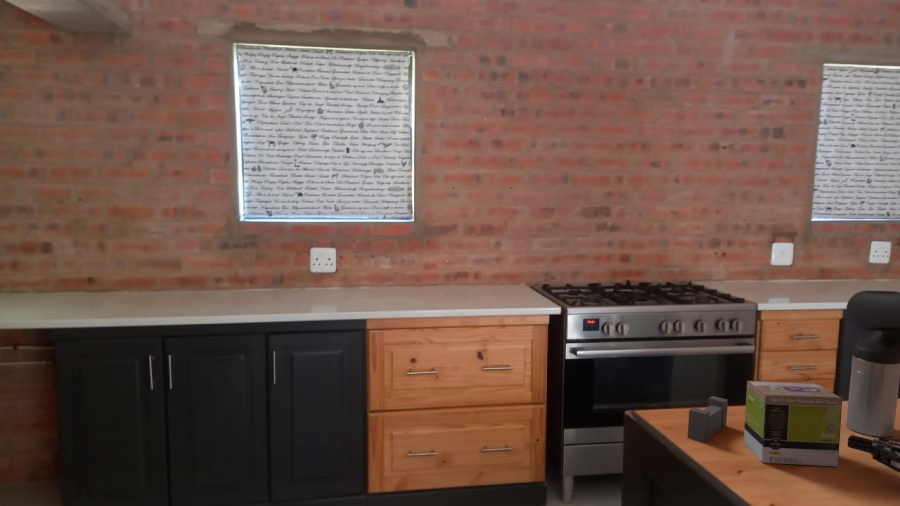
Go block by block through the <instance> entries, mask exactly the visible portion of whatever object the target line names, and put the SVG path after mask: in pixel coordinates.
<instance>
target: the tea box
mask: <svg viewBox="0 0 900 506" xmlns="http://www.w3.org/2000/svg"><path fill="white" fill-rule="evenodd" d="M745 395H746V396H745V410H744V411H745V414H744V425H743V427H744V431H743V443H744V445H745V446H746V447H747V448H748V449H749V450H750V451H751V453H752V454H753V455H754V456H755V457H756V458H757V459H758V460H759V461H760V462H761V463H765V464H783V465H785V464H786V465H802V466H804V465H805V466H819V467H820V466H822V467H837V468H838V467H839V457H840V443H841V442H840V440H841V426H842V409H843V408H842V407H843V397H841V396H839V395H837V394H835V393H834V392H832V391H830V390H829V389H827V388H825V387H823V386H821V385H820V384H819V383H816V382H794V381H793V382H792V381H791V382H789V381H787V382H786V381H763V380H762V381H761V380H747V381H746V394H745Z"/></svg>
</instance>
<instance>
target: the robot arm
mask: <svg viewBox="0 0 900 506" xmlns="http://www.w3.org/2000/svg"><path fill="white" fill-rule="evenodd" d="M845 307H846V308H845V309H846V310H845V311H846V315H847V318H848V320H849V321H850V322H851V323H852V324H853V325H854V326H855V327H857V328H859V329H861V330H865V331H875V332H874V333H873V334H872V335H871V336H870V337H868V338H866V339H864V340H861V341H858V342H856V343H855V344H854V345H853V348H852V349H853V350H852V357H851V358H852V359H851V368H850V370H851V371H850V379H849V392H848V401H847V411H846V422H845V423H846V427H847V428H848V429H851V430H852V431H854V432H857V433H860V434H863V435H867V436H871V437H872V436H873V437H878V439H876V438H875V439H870V438H866V437H861V436H857V435H853V434H850V435H849V436H848V438H847V447H848V448H850V449H853V450H858V451H860V452H864V453H868V454H870V456H872V459H873V460H874V461H876V462H878V463H880V464H882V465H884V466H885V467H887V468H889V469H891V470H893V471H895V472H897V473H900V438H893V437H892V436H894V433H895V423H896V416H897V404H898V396H899V387H900V386H899V385H900V291H893V290H862V291H858V292H856V293H855V294H853V295H852V296H851V297H850V298H849V299H848V302H847V304H846V306H845Z"/></svg>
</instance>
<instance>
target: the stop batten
mask: <svg viewBox="0 0 900 506" xmlns="http://www.w3.org/2000/svg"><path fill="white" fill-rule="evenodd" d="M707 403H708V404H707V407H706V408H705V409H701V408H697V407H695V406H694V407H691V408H689V412H688V421H687V422H688V424H687V438H689V439H692V440H696V441H698V442H701V443H704V442H706V441H708V439H709V438H710V437H712V436H713V435H714V434H716V433H717V432H719V430H721V429H724V428H725V427H727V419H728V417H727V416H728V405H729V399H727V398H722V397H718V396H714V395H711V396H710V397H708V398H707Z"/></svg>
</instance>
